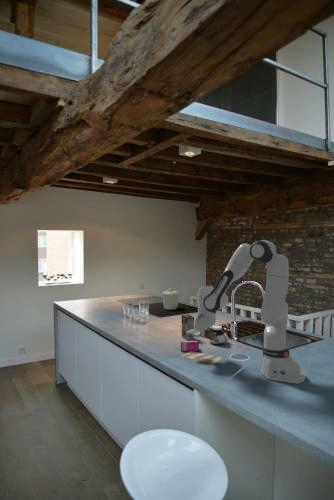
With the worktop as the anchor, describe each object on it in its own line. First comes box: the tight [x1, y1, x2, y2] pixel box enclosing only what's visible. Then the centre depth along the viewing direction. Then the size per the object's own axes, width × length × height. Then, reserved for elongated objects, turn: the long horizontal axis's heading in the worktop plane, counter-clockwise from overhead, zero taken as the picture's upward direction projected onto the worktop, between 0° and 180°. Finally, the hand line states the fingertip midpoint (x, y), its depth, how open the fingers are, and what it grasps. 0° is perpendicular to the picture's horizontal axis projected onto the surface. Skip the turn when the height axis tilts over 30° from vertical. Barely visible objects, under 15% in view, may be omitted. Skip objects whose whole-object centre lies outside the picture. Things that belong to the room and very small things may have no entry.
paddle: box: [186, 328, 216, 341], centre depth 205 cm, size 17×8×4 cm, turn 61°
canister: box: [161, 287, 180, 311], centre depth 349 cm, size 18×18×21 cm
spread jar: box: [208, 325, 230, 346], centre depth 235 cm, size 12×11×12 cm
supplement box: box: [180, 340, 200, 352], centre depth 219 cm, size 6×6×12 cm
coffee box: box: [181, 314, 195, 341], centre depth 247 cm, size 9×6×16 cm
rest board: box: [181, 351, 223, 365], centre depth 206 cm, size 22×12×1 cm, turn 55°
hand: (205, 335), depth 204 cm, fingers closed on paddle, 3 cm apart
